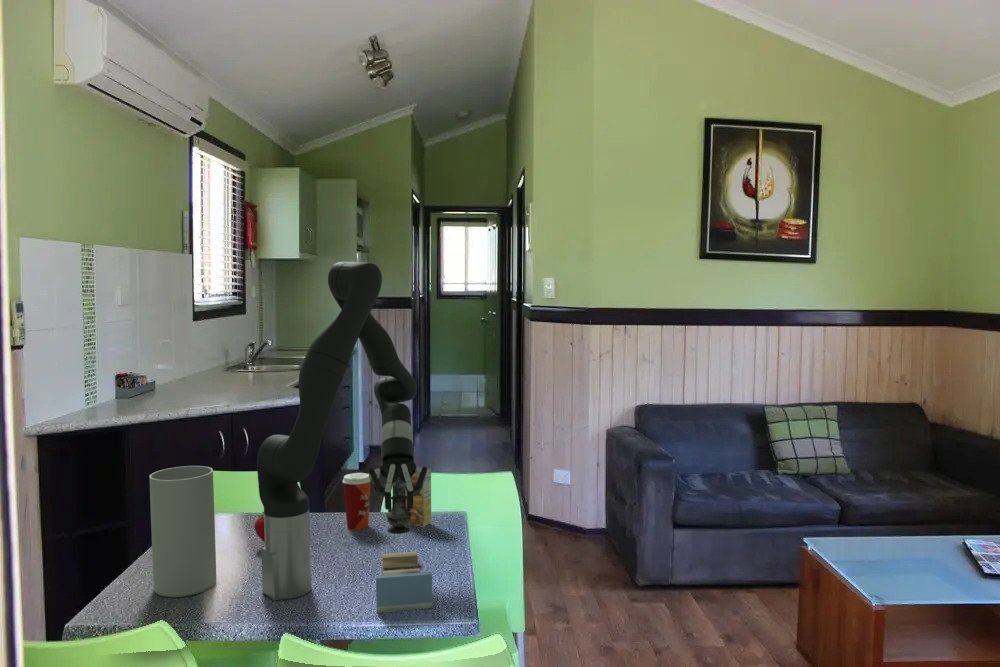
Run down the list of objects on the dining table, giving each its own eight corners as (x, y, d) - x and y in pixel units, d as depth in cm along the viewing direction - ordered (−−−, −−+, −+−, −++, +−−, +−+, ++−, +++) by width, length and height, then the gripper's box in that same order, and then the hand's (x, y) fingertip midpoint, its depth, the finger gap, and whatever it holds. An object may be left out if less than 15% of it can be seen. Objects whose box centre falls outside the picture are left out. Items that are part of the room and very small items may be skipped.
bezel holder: (376, 592, 153) (375, 560, 153) (428, 588, 155) (428, 556, 155) (376, 613, 144) (376, 578, 143) (432, 608, 145) (431, 574, 145)
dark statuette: (380, 531, 161) (380, 478, 161) (396, 524, 167) (395, 472, 166) (402, 535, 159) (402, 481, 158) (417, 528, 164) (417, 475, 163)
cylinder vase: (141, 597, 152) (136, 479, 151) (175, 574, 164) (171, 465, 163) (196, 600, 150) (192, 481, 149) (227, 576, 163) (223, 466, 161)
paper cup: (369, 531, 193) (368, 479, 192) (340, 531, 193) (339, 479, 192) (374, 521, 200) (373, 471, 200) (346, 522, 200) (345, 472, 200)
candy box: (396, 523, 199) (395, 468, 198) (405, 519, 203) (404, 465, 202) (423, 528, 195) (422, 471, 194) (432, 523, 199) (431, 468, 198)
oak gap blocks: (382, 564, 169) (382, 554, 169) (417, 562, 170) (416, 551, 170) (383, 586, 156) (383, 575, 156) (420, 583, 158) (420, 572, 157)
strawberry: (249, 548, 181) (247, 508, 180) (270, 539, 187) (269, 500, 187) (267, 551, 178) (266, 511, 177) (288, 542, 185) (287, 503, 184)
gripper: (366, 436, 168) (366, 502, 156) (428, 434, 170) (432, 499, 159) (366, 454, 173) (367, 519, 162) (426, 452, 176) (430, 516, 164)
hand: (399, 509), depth 160 cm, fingers closed on dark statuette, 3 cm apart
